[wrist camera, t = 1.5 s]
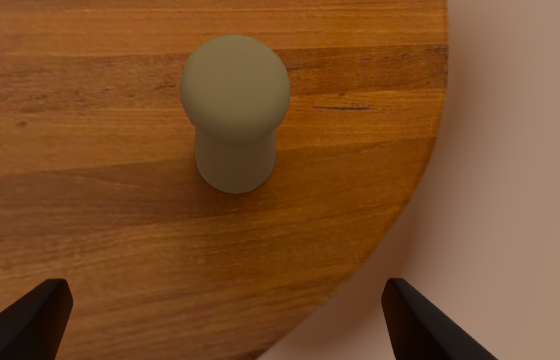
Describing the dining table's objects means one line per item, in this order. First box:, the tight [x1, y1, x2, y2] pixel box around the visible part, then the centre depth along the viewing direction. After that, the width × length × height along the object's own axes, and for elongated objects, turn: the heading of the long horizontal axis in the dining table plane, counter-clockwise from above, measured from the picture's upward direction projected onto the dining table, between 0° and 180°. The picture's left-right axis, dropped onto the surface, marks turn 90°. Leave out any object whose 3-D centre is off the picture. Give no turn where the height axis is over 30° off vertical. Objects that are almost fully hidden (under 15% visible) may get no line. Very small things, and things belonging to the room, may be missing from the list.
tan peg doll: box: [180, 34, 291, 194], centre depth 19 cm, size 6×6×11 cm
